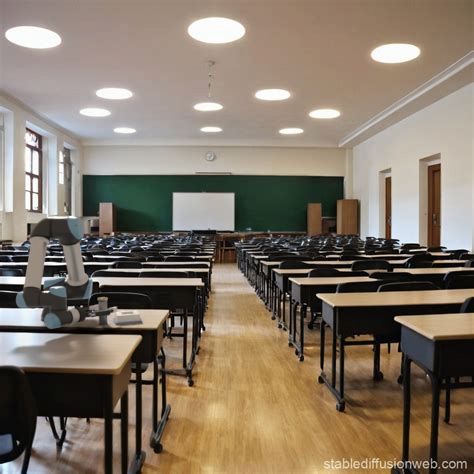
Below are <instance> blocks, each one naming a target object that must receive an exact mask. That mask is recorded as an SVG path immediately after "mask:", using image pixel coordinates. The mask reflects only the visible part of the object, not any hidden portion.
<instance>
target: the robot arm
mask: <svg viewBox="0 0 474 474" xmlns="http://www.w3.org/2000/svg"><path fill="white" fill-rule="evenodd" d="M84 235H85V230H84V224H83V221H82V220H81V218H80V217H78V216H71V215H70V216H47V217H45V218H42V219H41V220H40V221H38V222H37V223H36V224H35V226H34V227H33V229H32V231H30V235H29V243H30V247H29V253H28V261H27V266H26V272H25V279H24V284H23V289H22V291H19V292H17V294H16V298H15V303H16V305H17V307H18V308H24V309H25V308H27V309H29V308H31V309H32V308H43V309H42V312H41V315H40V320H41V319H42V320H41V321H44V324H45V326H46V327H47V329H51V330H52V329H57V328H58V329H59V328H63V327H66V326H72V325H74V324H77V323H81V322H85V320H86V318H95V317H99V316H104V315H107V317H108V316H110V315H111V314H115V312H118V306H113V307H109V308H108V307H107V309H105V310H99V305H98V304H94V305H90V306H89V305H87V304H86V305H85V306H78V307H72V308H68V306H67V305H68V304H67V302H68V301H67V300H86V299H87V300H88V299H90V298H91V296H92V293H93V283H94V282H93V279H92V278H89V275H88V274H87V273H85V268H84V261H83V257H82V249H81V245H80V244H81V243H80V242H81V241H82V239H83V238H84V237H85V236H84ZM51 240H58V243H59V245H60V246H62V248H63V254H64V258H65V264H66V269H67V274H68V277H67V278H66V276H58V277H52V278H48V279H45V280H44V281H43V275H44V268H45V262H46V255H47V247H48V245H49V244H50V242H51ZM42 281H43V282H42ZM42 283H43V288H42ZM41 288H42V289H43V291H42V290H41Z"/></svg>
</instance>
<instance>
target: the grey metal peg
mask: <svg viewBox="0 0 474 474" xmlns="http://www.w3.org/2000/svg"><path fill="white" fill-rule="evenodd" d="M108 299H109V298H108V297H107V296H106V297H105V296H102V297H101V296H100V297H97V301H98V304H97V305H99V310H105V309H108ZM98 325H99V326H105V325H108V315H104V316H98Z"/></svg>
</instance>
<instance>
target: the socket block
mask: <svg viewBox="0 0 474 474" xmlns="http://www.w3.org/2000/svg"><path fill="white" fill-rule="evenodd" d="M114 315H115V317H113V322H114V324H115V326H118V325H120V326H121V325H129V324H132V325H133V324H142V323H143V320H142V318H141V314H140V312H139V311H138V309H134V310H123V311H122V310H121V311H117V312H114Z"/></svg>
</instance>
